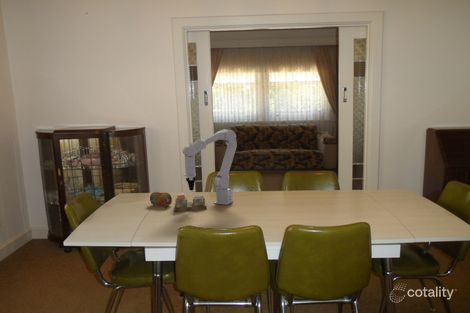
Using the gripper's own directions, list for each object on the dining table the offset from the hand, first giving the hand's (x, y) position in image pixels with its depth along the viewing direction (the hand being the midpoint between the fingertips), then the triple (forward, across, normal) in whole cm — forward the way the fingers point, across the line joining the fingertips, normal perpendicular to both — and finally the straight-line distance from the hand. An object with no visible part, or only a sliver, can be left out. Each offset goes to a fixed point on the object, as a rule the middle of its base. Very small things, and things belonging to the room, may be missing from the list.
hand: (191, 190), depth 206 cm
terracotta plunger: (+6, 0, -6) cm, 9 cm away
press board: (+11, 0, -1) cm, 11 cm away
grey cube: (+8, 0, +4) cm, 9 cm away
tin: (+11, -11, -18) cm, 24 cm away
